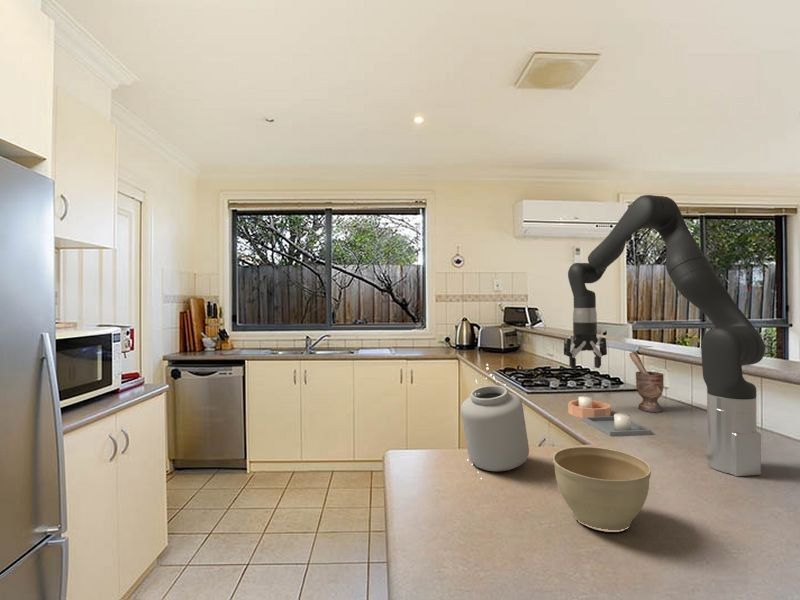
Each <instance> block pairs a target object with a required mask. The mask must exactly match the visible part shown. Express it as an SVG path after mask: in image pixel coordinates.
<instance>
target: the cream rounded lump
mask: <svg viewBox="0 0 800 600" xmlns="http://www.w3.org/2000/svg"><path fill="white" fill-rule="evenodd" d="M578 400H579V407H583V408H592V400H593V397H591V396H587V395H586V396H585V395H584V396H583V395H581V396H578Z"/></svg>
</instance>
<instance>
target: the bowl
mask: <svg viewBox="0 0 800 600" xmlns="http://www.w3.org/2000/svg"><path fill="white" fill-rule="evenodd" d="M567 406H568V407H567V409H568V411H567V413H568V414H569V415H571V416H573V417H576V418H581V419H584V417H604V416H611V413H612V412H611V410H612V409H611V408H612V407H611V404H610V403H608V402H605V401H599V400H594V399H592V408H583V407H579V399H572V400H569V401H568V404H567Z"/></svg>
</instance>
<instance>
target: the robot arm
mask: <svg viewBox="0 0 800 600" xmlns="http://www.w3.org/2000/svg"><path fill="white" fill-rule="evenodd" d="M642 229H649V230H651V229H653V230H655V231H656V232H658V234H659V235H660V237H661V239H662V240H663V242H664V245H665V246H666V247H665V248H666V255H665V267H666V268H665V269H666V273H667V275H668V277H669V278H670V279H671V281H672V283H673V285H674V287H675V288H676V290H677V291H678V293H679V294H680V295H682V297H683V298H685V300H686V301H688V302H689V303H691V304H692V305H693V306H694V307H696V308H698V310H700V311H701V312H702V313H703V314H704V315H706V316H707V318H708V319H709V321H711V323H712V324H713V326H714V327H713V328H710V329H709V330H707V331H706V332H705V333H704V335H703V337H702V339H701V347H700V349H701V350H700V351H701V352H700V354H701V365H702V366H701V368H702V376H703V377H702V378H703V381H704V383H705V386H706V395H707V396H706V397H707V398H706V401H707V402H706V406H707V407H706V410H707V412H706V414H707V416H706V417H707V418H706V424H707V425H706V429H707V431H706V433H707V435H706V436H707V437H706V439H707V440H706V441H707V465H708V466H709V467H710V468H712V469H714V470H717V471H719V472H722V473H726V474H731V475H733V476H735V477H744V476H745V477H747V476H762V445H761V444H762V443H761V442H762V436H761V435H762V433H760V432H759V431H758V430H757V429H758V428H757V427H758V426H757V425H758V424H757V411H758V410H757V387H756V385H755V384H753V383H751V382H750V381H747V380H746V379H745V378H744V376H743V366H751V365H755V364H757V363H760V362H761V361H762V360H763V358H764V356H765V353H766V345H765V342H764V339H763V337H762V335H761V334H760V333H759V330H757V328H756V327H755V326H754V325H753V324H752V322H751V321H750V320H749V318H747V316H746V315H745V314H744V313H743V312H742V310H741V309H740V308H739V306H738V305H737V303H735V300H733V298H732V296H731V294H730V293H729V292H728V290H727V288H726V287H725V285H724V284H723V283H722V281H721V280H720V278H719V276H718V275H717V272H716V271H715V269H714V268H713V266H712V264H711V263H710V261H709V260H708V258H707V257H706V255H705V253H703V251H702V249H701V247H700V246H699V244H698V243H697V241H696V239H695V238H694V236H693V234H692V233H691V231H690V229H689V228H688V226H687V223H686V221H685V219H684V217H683V215H682V212H681V210H680V207H679V206H678V205H677V203H676V201H675V200H673V199H672V198H670V197H668V196H662V195H652V194H644V195H641V196H639V197H637V198H636V199H635V200H634V201H633V202H632V203H631V204H630V205H629V206H628V208H627V209H626V211H624V213H623V215H622V216H621V217H620V219H619V220H618V222H617V223H616V224H615V225H614V228H613V229H612V230H611V231H610V233H609V234H608V235H607V236H606V237H605V238H604V240H602V241H601V242H600V243H599V244H598V245H597V246H596V247H595V248H594V249H593V250H591V252H589V255H588V256H587V262H575V263H573V264H571V265H570V267H568V272H567V278H568V282H569V286H570V288H571V293H572V295H573V313H572V333H573V337H572V338H570V337H564V341H563V355H564V356H566V357H568V358H569V359H568V360H569V367H570V368H571V369H572V370H573V369H577V358H576V357H577V355H578V354H580V352H585V351H590V352H592V353H593V354H594V368H595V369H600V368H601V366H602V357H603V356H606V355H608V349H607V347H608V346H607V338H606V337H601V336H600V337H597V335H598V316H597V315H598V313H597V309H596V307H597V301H596V300H597V298H596V297H597V296H596V293H595V292H594V291H593V290H590V289H588V287H587V286H586V284H594V283H596V282H598V281H600V279H601V278H602V276H603V275H604V274H605V272H606V270H607V268H608V267H610V265H612V264H613V263H614V262H615V261H617V259H619V258H620V256H621V255H622V254H623V252H624V250H625V247H626V244H627V241H628V239H629V238H630V237H631V236H632V235H634V234H635V233H636V232H638V231H639V230H642ZM572 344H574V345H573V347H572ZM597 344H598V347H597Z"/></svg>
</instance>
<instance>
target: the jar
mask: <svg viewBox="0 0 800 600" xmlns="http://www.w3.org/2000/svg"><path fill="white" fill-rule="evenodd" d="M486 366H488V367H486V370H487V371H488V370H490V369H489V364H488V363H486ZM489 376H490V377H492V376H493V374H492V373H490V374H489ZM492 378H493V380H494V381H495V380H496V378H495V376H493V377H492ZM485 379H486V380H487V379H488V378H487V377H485ZM477 381H478V380H477V379H475V382H476V384H478V382H477ZM495 382H496V383H498V381H497V380H496V381H495ZM505 386H506V383H504V386H503V385H495V384H491V385H484V386H480V387H476V388H475V389H473V390H471V392H470V395H469V397H467V398H466V399H465V400H463V402H462V404H461V407H460V412H461V419H462V425H463V426H462V427H463V431H464V437H465V444H466V450H467V455H468V457H469V459H468V458H467V461H471V466H473V465H474V466H476V467H477V468H479V469H481V470H485V471H488V472H489V471H490V472H505V471H510V470H513V469H515V468H518V467H519V466H521V465H523V464H524V463H526V460H527V459H528V457H529V454H530V448H529V447H530V446H529V440H528V433H527V427H526V421H525V413H524V406H523V402H522V400H521V398H520V397H519V396H518V395H517V394H514V393H512V392H510V391H509V390H508V387H505ZM477 473H478V474H479V473H480V472H479V471H477ZM480 480H483V478H482V477H480Z"/></svg>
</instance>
